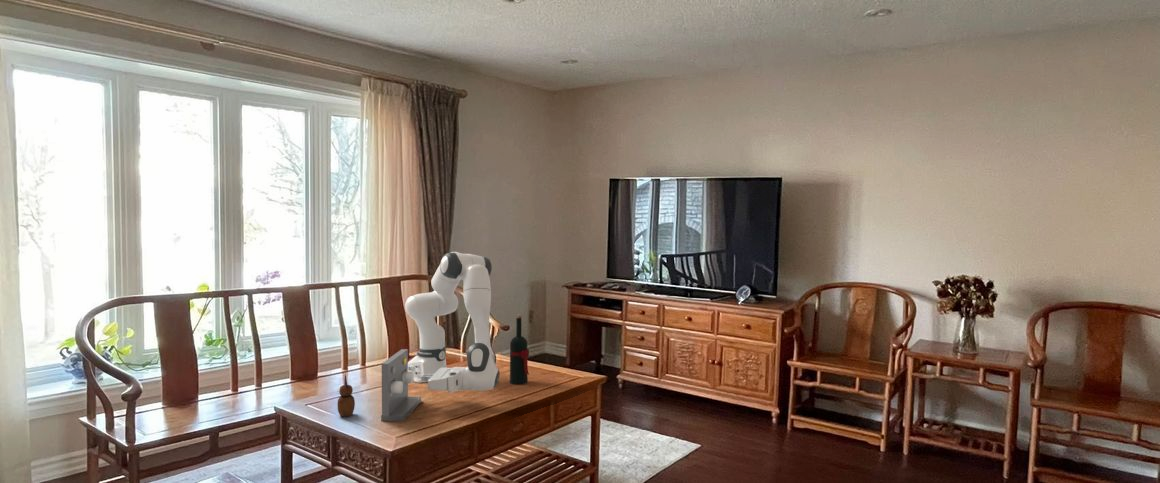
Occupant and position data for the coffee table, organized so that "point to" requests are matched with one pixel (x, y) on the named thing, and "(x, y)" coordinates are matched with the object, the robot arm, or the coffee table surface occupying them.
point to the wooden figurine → (346, 400)
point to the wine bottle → (518, 357)
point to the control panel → (396, 404)
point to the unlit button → (396, 387)
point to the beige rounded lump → (408, 377)
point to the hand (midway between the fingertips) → (422, 377)
